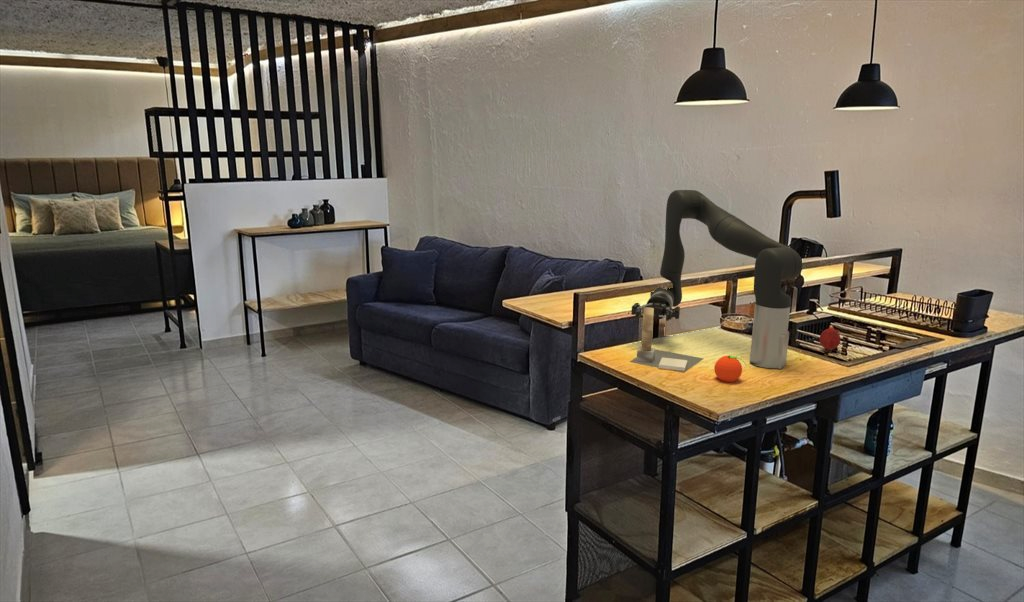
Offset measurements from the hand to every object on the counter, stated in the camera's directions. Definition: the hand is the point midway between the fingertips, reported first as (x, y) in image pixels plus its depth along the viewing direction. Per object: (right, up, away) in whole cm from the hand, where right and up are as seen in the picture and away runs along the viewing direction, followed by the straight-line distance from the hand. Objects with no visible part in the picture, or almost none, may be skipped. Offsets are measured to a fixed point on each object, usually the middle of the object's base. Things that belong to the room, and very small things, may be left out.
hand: (652, 316), depth 198 cm
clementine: (+15, -17, -22) cm, 32 cm away
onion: (+55, -11, +7) cm, 57 cm away
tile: (+4, -12, -10) cm, 16 cm away
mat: (+3, -13, -7) cm, 15 cm away
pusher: (-4, -12, -7) cm, 14 cm away
